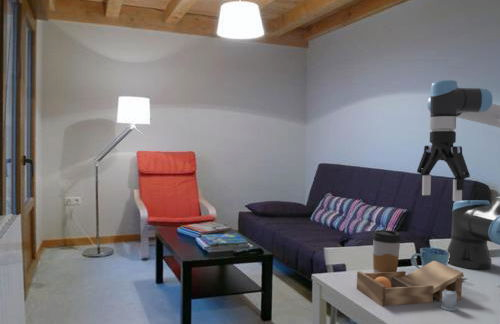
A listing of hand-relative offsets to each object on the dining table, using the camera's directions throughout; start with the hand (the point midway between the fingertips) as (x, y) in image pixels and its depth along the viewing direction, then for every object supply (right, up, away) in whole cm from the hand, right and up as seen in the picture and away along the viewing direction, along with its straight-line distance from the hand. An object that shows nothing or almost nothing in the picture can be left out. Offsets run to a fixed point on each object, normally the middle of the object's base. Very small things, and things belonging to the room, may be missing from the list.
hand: (441, 197), depth 138 cm
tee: (-9, -27, -25) cm, 37 cm away
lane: (-15, -26, -15) cm, 34 cm away
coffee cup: (-19, -25, -4) cm, 32 cm away
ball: (-24, -23, -17) cm, 38 cm away
